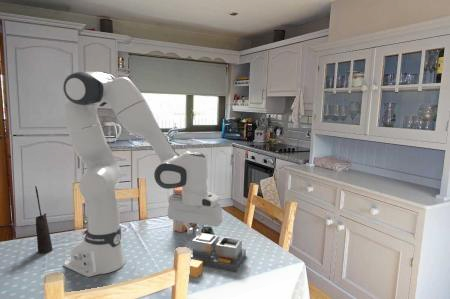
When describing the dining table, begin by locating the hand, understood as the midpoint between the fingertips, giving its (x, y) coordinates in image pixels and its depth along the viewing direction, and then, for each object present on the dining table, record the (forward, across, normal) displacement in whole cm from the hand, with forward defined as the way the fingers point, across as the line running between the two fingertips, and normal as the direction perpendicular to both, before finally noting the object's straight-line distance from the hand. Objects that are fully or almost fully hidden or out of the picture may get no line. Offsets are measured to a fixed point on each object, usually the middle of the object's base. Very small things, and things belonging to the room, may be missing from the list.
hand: (194, 233), depth 112 cm
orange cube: (+15, 0, 0) cm, 15 cm away
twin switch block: (+15, +4, +13) cm, 20 cm away
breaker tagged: (+12, +9, +13) cm, 20 cm away
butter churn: (+15, -65, -6) cm, 67 cm away
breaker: (+10, -1, +13) cm, 16 cm away
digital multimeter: (+16, -7, +29) cm, 34 cm away
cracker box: (+15, -22, +37) cm, 46 cm away
